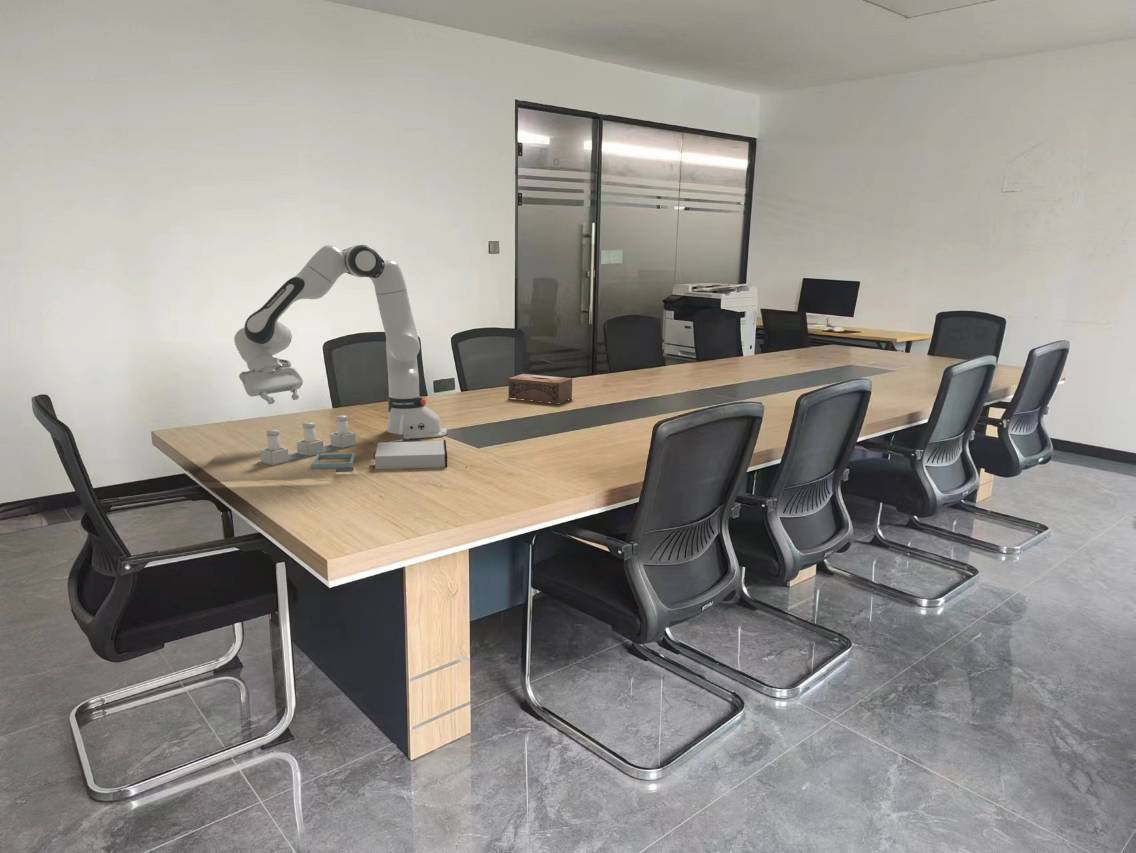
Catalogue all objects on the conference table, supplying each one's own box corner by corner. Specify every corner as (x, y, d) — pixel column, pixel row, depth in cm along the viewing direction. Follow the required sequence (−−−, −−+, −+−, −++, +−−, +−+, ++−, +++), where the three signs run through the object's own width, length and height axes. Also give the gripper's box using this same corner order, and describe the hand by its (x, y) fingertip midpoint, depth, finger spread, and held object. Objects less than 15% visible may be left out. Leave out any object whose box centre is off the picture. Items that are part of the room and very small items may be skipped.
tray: (355, 461, 254) (355, 453, 254) (352, 471, 243) (351, 463, 242) (317, 462, 252) (316, 454, 252) (312, 472, 241) (311, 464, 240)
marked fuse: (317, 451, 260) (315, 421, 258) (315, 453, 257) (313, 424, 254) (305, 451, 260) (303, 422, 257) (303, 454, 256) (301, 424, 254)
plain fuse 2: (349, 443, 271) (348, 415, 269) (348, 445, 267) (347, 417, 265) (338, 443, 270) (336, 415, 268) (336, 446, 267) (335, 417, 264)
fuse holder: (257, 466, 246) (256, 449, 245) (346, 445, 274) (345, 429, 273) (270, 470, 242) (269, 453, 241) (359, 448, 271) (358, 432, 269)
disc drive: (447, 468, 250) (447, 453, 249) (375, 470, 246) (375, 455, 245) (446, 454, 267) (445, 439, 266) (378, 456, 263) (378, 441, 262)
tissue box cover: (571, 399, 364) (572, 378, 361) (559, 405, 351) (559, 383, 349) (522, 394, 374) (522, 373, 372) (508, 399, 361) (508, 378, 359)
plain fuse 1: (282, 459, 249) (280, 429, 247) (280, 462, 246) (278, 431, 244) (269, 459, 249) (267, 429, 247) (267, 463, 245) (265, 432, 243)
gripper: (240, 366, 254) (260, 399, 251) (293, 359, 271) (313, 390, 268) (233, 378, 258) (253, 411, 255) (286, 371, 274) (305, 402, 271)
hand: (284, 400), depth 261 cm, fingers open, 8 cm apart
